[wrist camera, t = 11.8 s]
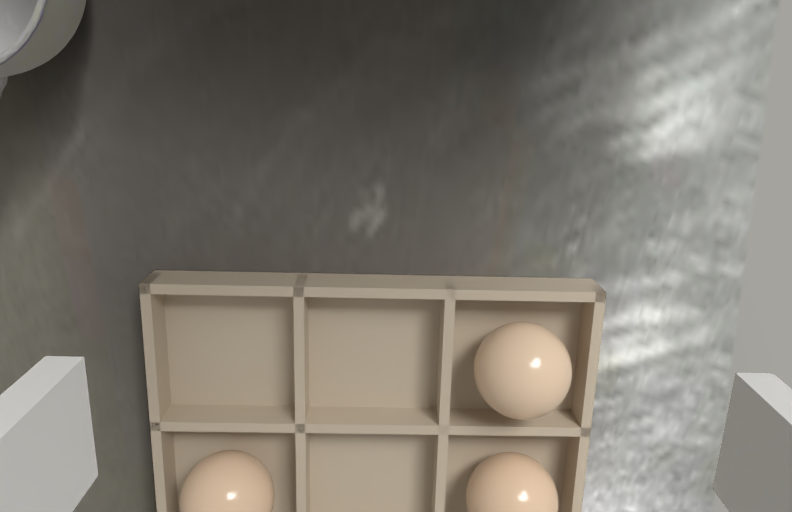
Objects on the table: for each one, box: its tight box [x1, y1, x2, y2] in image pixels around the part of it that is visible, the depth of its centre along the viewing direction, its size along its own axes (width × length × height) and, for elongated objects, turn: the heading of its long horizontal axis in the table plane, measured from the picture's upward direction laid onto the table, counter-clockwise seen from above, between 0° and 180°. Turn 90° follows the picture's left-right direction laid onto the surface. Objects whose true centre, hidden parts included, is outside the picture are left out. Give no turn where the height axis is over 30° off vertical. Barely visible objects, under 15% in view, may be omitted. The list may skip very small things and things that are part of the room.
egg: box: [179, 450, 275, 512], centre depth 40 cm, size 6×6×6 cm
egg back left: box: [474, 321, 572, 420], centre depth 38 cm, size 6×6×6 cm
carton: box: [139, 270, 606, 512], centre depth 41 cm, size 18×26×3 cm
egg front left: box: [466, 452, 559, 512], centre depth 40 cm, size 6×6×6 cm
